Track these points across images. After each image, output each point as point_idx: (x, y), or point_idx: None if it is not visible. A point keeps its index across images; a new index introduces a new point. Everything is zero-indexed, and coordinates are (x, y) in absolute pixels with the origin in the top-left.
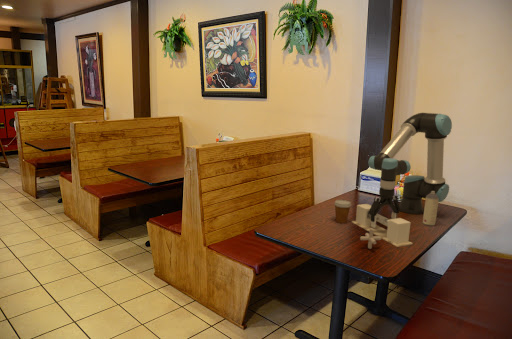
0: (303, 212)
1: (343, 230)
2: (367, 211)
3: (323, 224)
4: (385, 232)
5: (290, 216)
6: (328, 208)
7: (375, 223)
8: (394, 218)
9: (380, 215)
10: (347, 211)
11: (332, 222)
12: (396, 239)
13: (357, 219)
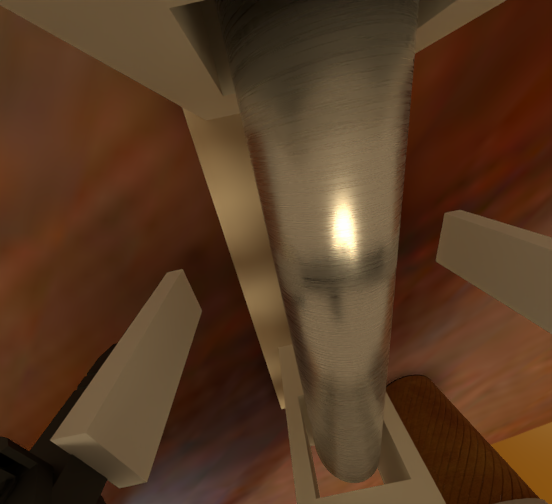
0: None
1: (493, 300)
2: (406, 467)
3: (511, 365)
4: None
5: (546, 422)
6: None
7: (506, 230)
8: (153, 331)
9: (356, 394)
10: (457, 458)
11: (453, 382)
12: None
13: None
